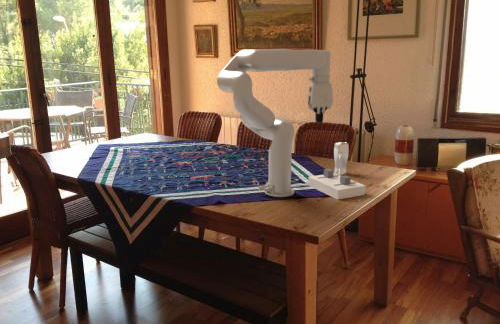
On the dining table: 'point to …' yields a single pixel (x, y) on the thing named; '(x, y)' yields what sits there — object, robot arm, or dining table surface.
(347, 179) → the front switch
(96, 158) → the dining table surface
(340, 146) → the beer glass
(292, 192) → the robot arm
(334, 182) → the switch panel
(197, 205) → the dining table surface
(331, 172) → the back switch
